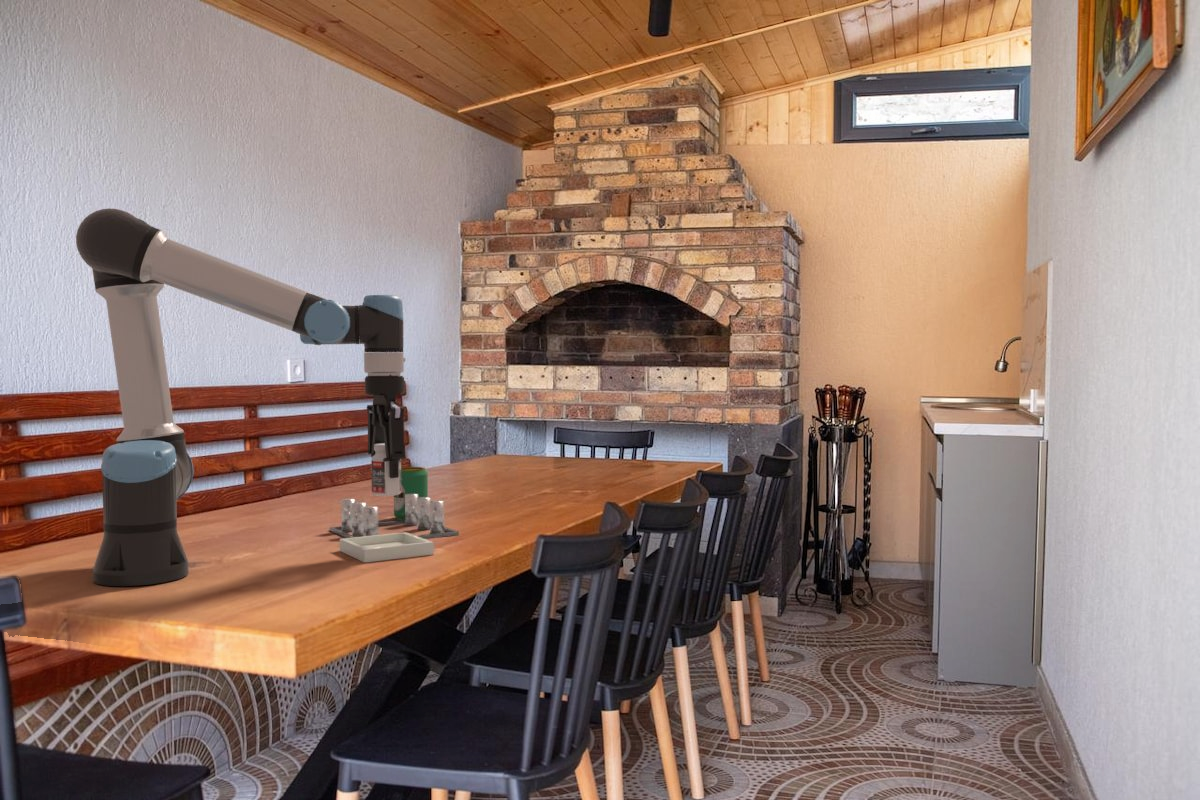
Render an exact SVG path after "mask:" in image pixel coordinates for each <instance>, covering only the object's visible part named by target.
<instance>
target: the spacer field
mask: <svg viewBox="0 0 1200 800" xmlns="http://www.w3.org/2000/svg"><path fill="white" fill-rule="evenodd" d="M340 504H341V505H340V506H341V515H340V516H341V526H340V525H338V526H330V527H329V532H332V533H335V534H336V535H338V536H341V537H343V538H353V537H362V536H372V535H379V527H381V526H382V527H383V526H393V525H405V526H409V527H413V526H416V527H417V530H418V531H427V530H429V533H428V534H420V535H419V534H418V535H417V536H418V537H421V538H423V539H430V538H431V539H432V538H441V537H443V538H445V537H452V536H459V533H460V532H459V530H456V529H454V528H453V529H452V528H450V527H447V526H445V501H444V500H439V499H438V500H432V498H431V497H430V496H428V497H418V494H405V520H395V521H394V520H393V521H383V522H379V506H377V505H367V502H365V501H360V502H358V501H356V499H355V498H342V499H341V503H340ZM350 533H352V534H350Z"/></svg>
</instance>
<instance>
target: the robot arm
mask: <svg viewBox="0 0 1200 800" xmlns="http://www.w3.org/2000/svg"><path fill="white" fill-rule="evenodd" d="M75 243H76V249H77V251H78V254H79V256H80V257H81V259H82V260H83V261H84V263H86V265H88V267H89V268H91V269H92V275H93V282H94V289H95V292H96V293H97V294H98V295H99V296H100V297H102V298H103V299H104V300H105V302H106V309H107V317H108V323H109V329H110V330H109V331H110V338H111V345H112V351H113V353H112V354H113V358H114V359H113V360H114V366H115V367H114V368H115V372H116V373H115V374H116V382H117V386H118V387H117V388H118V394H119V395H118V396H119V401H120V408H121V409H120V410H121V416H122V423H123V430H122V432H121V433H120V434H118V435H119V436H117V438H116V444H112V445H109V446H108V447H107V448H105V449H104V451H103V454H102V458H101V459H102V461H101V465H100V469H101V473H102V512H103V513H102V515H103V516H102V517H103V536H102V537H103V538H102V540H101V544H100V545H99V550H98V552H97V555H96V559H95V562H94V565H93V570H92V571H93V572H92V574H93V576H92V579H93V583H94V584H97V585H101V586H107V587H134V586H147V585H155V584H161V583H168V582H173V581H176V580H179V579H182V578H184V577H186V576H188V575H189V559H188V556H187V554H186V551H185V549H184V547H183V543H182V541H181V538H180V536H179V533H178V523H177V522H178V520H177V519H178V517H177V515H178V513H177V512H178V511H177V510H178V508H177V507H178V505H177V503H178V502H177V501H178V500H179V499H180V498H182V497H183V496H184V495H185V494H186V492H187V491H188V489H190V486H191V484H192V482H193V477H194V464H193V461H192V457H191V456H190V454H189V453H188V451H187V445H186V437H185V431H184V429H182V428H181V427H179V425H177V424H176V423H175V421H174V414H173V407H172V401H171V400H172V399H171V392H170V385H169V377H168V370H167V362H166V355H165V349H164V341H163V333H162V325H161V319H160V312H159V304H158V303H159V302H158V295H159V293H160V292H161V291H162V290H163V288H165V285H166V286H169V287H172V288H175V289H177V290H179V291H183V292H185V293H188V294H191V295H193V296H196V297H199V298H202V299H204V300H207V301H210V302H212V303H215V304H218V305H221V306H223V307H226V308H228V309H232V310H235V311H237V312H239V313H242V314H246V315H247V316H251V317H254V318H256V319H258V320H261V321H263V322H267V323H270V324H272V325H275V326H277V327H281V328H282V329H283V328H284V329H286V330H288V331H291V332H294V333H296V334H298V335H299V339H300V341H301V343H303V344H305V345H315V346H321V345H354V344H355V345H363V346H364V350H363V351H364V353H363V363H364V364H363V365H364V366H363V369H364V371H363V372H364V373H365V374H367V375H366V376H365V377H364V394H365V395H367V396H373V398H372V399H373V400H372V404H367V405H366V411H367V453H368V455H370V457H371V458H372V457H373V456H374V455H375V450H374V444H379V443H385V450H386V458H384V459H383V461H384V462H385V495H392V496H394V495H397V494H400V477H399V461H400V460H401V461H402V459H404V458H405V437H404V435H405V433H404V415H405V407H404V406H399V405H398V400H397V396H399V395H403V394H404V393H405V377H404V376H403V375H401V373H402V374H403V373H404V370H405V369H404V367H405V362H406V358H405V357H404V312H403V310H404V309H403V300H402V299H401V297H399V296H397V295H392V294H391V295H390V294H369V295H365V296H364V298H363V300H362V301H363V302H362V304H358V305H342V304H341V303H339V302H337V301H335V300H332V299H326V298H324V297H321V296H320V295H319V296H318V295H316V294H312V293H309V292H308V291H305V290H302V289H300V288H298V287H295V286H293V285H289V284H287V283H284V282H281V281H279V280H277V279H274V278H271V277H268V276H266V275H264V274H261V273H259V272H256V271H253V270H251V269H248V268H245V267H243V266H241V265H237V264H235V263H232V262H229V261H227V260H225V259H221V258H219V257H216V256H214V255H212V254H209V253H205V252H203V251H201V250H198V249H196V248H193V247H191V246H188V245H186V244H182V243H181V242H177V241H175V240H172V239H170V238H168V237H167V235H166V233H165V231H164V230H162V229H160V228H156V227H155V226H152V225H151V224H149V223H148V222H146V221H144V220H142V219H141V218H137V217H136V216H134V214H131V213H130V212H127V211H126V210H121V209H119V208H118V209H117V208H101V209H99V210H96V211H93V212H92V213H90V214H88V215H87V216H86V217H85V218H83V220H82V221H81V222H80V224H79V226H78V227H77V231H76V234H75Z"/></svg>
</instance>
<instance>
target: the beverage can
mask: <svg viewBox="0 0 1200 800" xmlns="http://www.w3.org/2000/svg"><path fill="white" fill-rule="evenodd" d="M428 475H429V474H428V471H427V470H426V467H421V466H405V467H404V466H403V467H402V466H401V493H400V494H398V495H393V516H394V517H395V519H396V521H402V520H405V494H418V497H429V491H428V490H429V489H428V488H429V487H428V483H429V482H428V480H429V479H428Z"/></svg>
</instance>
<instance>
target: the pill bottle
mask: <svg viewBox="0 0 1200 800" xmlns="http://www.w3.org/2000/svg"><path fill="white" fill-rule="evenodd" d="M374 450H375V455H374V456H373V457H371V462H370V463H371V494H372V495H374V496H377V497H390V496H393V495H385V462H384V461H383V459H384V458H386V450H385V443H379V444H374ZM401 468H402V459H401V460H400V461H399V477H400V493H401ZM397 495H398V494H397Z"/></svg>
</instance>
